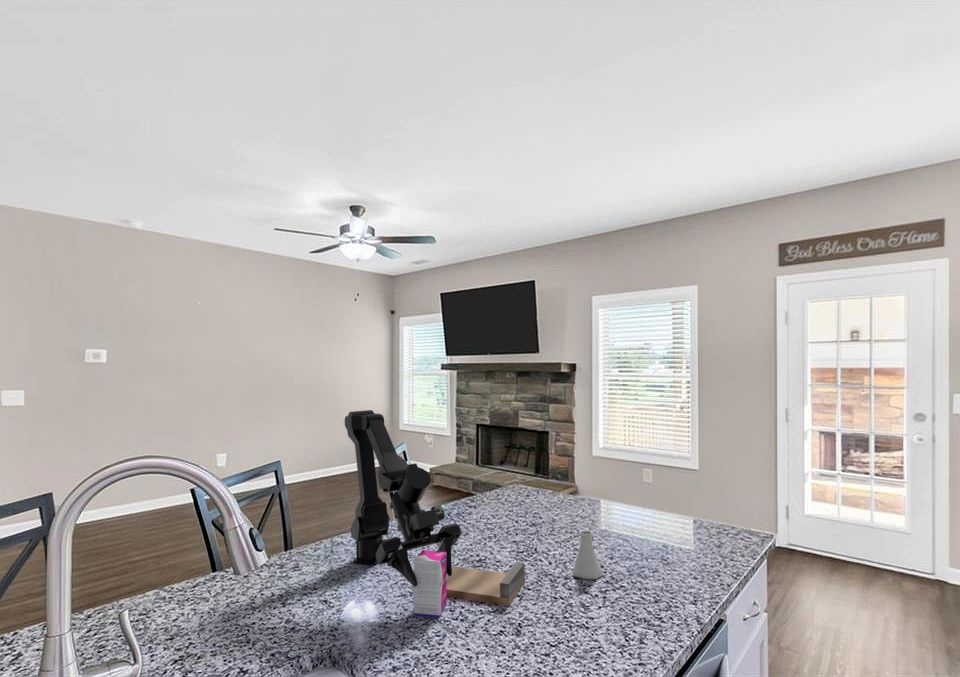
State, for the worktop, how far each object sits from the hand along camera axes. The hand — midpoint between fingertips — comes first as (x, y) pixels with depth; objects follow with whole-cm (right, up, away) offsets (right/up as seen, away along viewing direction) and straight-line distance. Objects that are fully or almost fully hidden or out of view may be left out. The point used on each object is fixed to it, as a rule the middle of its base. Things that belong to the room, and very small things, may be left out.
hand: (433, 580), depth 108 cm
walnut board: (+9, -7, +11) cm, 16 cm away
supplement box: (-1, -7, +1) cm, 7 cm away
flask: (+36, -7, +17) cm, 40 cm away
